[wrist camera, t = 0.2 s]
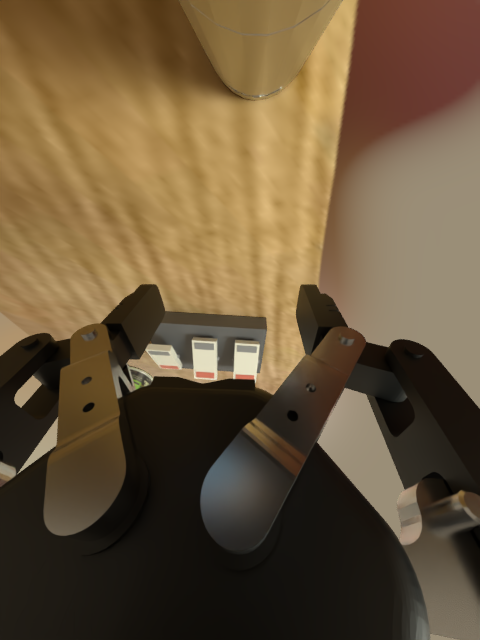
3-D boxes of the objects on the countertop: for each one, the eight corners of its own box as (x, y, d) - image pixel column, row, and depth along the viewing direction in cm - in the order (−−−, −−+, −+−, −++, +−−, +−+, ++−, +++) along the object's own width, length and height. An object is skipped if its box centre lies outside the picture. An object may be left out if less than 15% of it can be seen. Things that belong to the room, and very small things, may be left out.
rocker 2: (191, 336, 34) (189, 340, 33) (219, 338, 34) (218, 342, 33) (194, 373, 37) (192, 378, 36) (219, 375, 37) (218, 380, 36)
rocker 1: (145, 342, 32) (142, 349, 32) (173, 344, 32) (171, 351, 32) (160, 362, 39) (158, 368, 38) (184, 363, 39) (182, 370, 38)
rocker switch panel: (151, 310, 35) (144, 321, 33) (266, 317, 35) (266, 329, 33) (165, 354, 43) (160, 366, 41) (259, 361, 43) (259, 373, 40)
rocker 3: (233, 339, 34) (232, 343, 33) (261, 340, 34) (261, 345, 32) (232, 376, 37) (231, 381, 36) (257, 378, 37) (257, 383, 36)
